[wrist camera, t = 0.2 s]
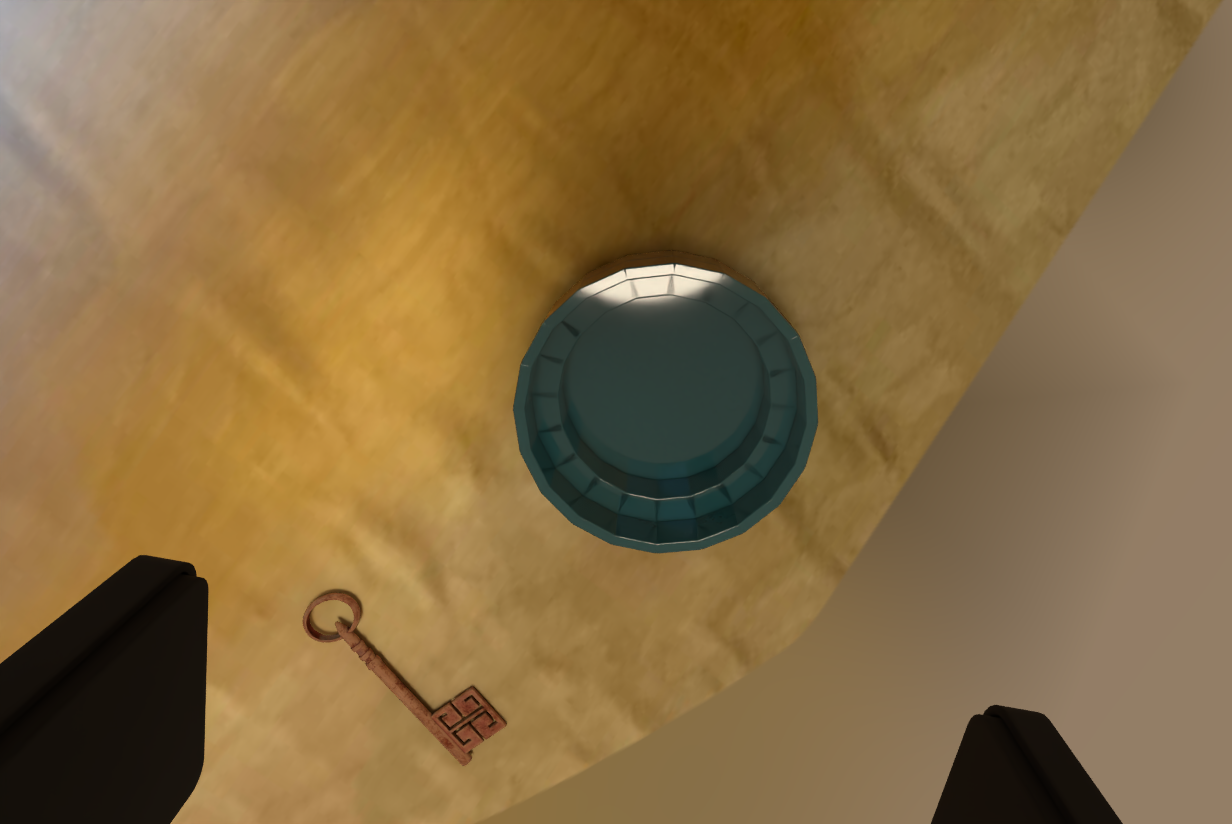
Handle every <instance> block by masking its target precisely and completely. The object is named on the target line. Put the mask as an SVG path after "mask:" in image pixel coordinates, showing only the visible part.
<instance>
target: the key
mask: <svg viewBox="0 0 1232 824" xmlns="http://www.w3.org/2000/svg"><path fill="white" fill-rule="evenodd" d="M328 600H340V601H343V602H345V603H346V604H348V605H349V606H350V607H351V609H352V611H353V613H354V622H353V624H352V625H351V626H350V627H348V626H346V625H344V624H342V623H340V622H338V621H337V622H335V625H336V628H337V630H338V633H339V634H336V635H323V634H321V633H318V632H317V631H315V630H314V629H313V627H312V626H311V624H310V619H309V616H310V612H311V610H312V609H313V608H314V607H315V606H316V605H318V604H319V603H322V602H324V601H328ZM359 620H360V608H359V606H358V604H357V602H356V601H355V600H354V599H353V598H352V597H350V596H348V595H346V594H342V593H330V594H326V595H323V596H321V597H319V598H317V599H316V600H314V601H313V602H312V603H311V604H310V605H309V606H308V608H307V609H306V611H305V613H304V616H303V626H304V629H305V631H306V633H307V634H308V635H309V636H310V637H311V638H313V639H314V640H317V641H320V642H335V641H338V640H341V639H344V640H345V641H346V642H347V643H348V644H349V645H350V647H351V649H352V650H353V651H354V652H356V653H357V654H358V655H359V658H360V659H361V660H362V661H365V662H366V666H367V667H368V669H369V670H372V671H373V672H374V673H375V674H376V675H377V676H378V677H379V678H380V679H381V680H382V681H383V682H384V684H385V685H386V686H387V687H388V688H389V689H390V690H391V691H392V692H393V693H394V694H395V695H396V696H397V697H398V698H399V699H400V700H401V701H402V702H403V704H404V705H405V706H406V707H407V708H408V709H409V710H410V711H411V712H412V713H413V714H414V715H415V716H416V717H417V718H418V719H419V720H420V721H421V722H422V724H423V725H424V726H425V727H426V728H427V729H428V730H429V731H430V732H431V733H432V734H433V735H434V736H435V737H436V738H437V739H438V740H439V741H440V742H441V744H442V745H443V746H444V747H445V748H446V749H447V750H448V751H449V752H450V753H451V754H452V755H453V756H454V757H455V758H456V759H457V760H458V761H459V762H460V764H461V765H462V766H465V765H467V764H468V763H469V762H470V761H471V759H472V756H471V755H470V754H469V753H468V752H469V751H470V750H472V749H473V748H475V747H476V746H478V745H479V744H480V743H482V742H483V741H484V739H483V738H482V737H481V736H480V735H479V733H478V732H477V731H476V730H475V729H474V728H473V727H472V726H471V725H470V724H469V723H468V724H467V725H465V726H464V727H462V728H461V729H460V730H458V731H457V732H456V734H457V735H458V736H459V737H460V738H461V739H462V740H463V741H466V740H467V739H469V738H470V740H469V741H468V742H466V743H465V744H463V743H462V742H461V741H460V740H459V739H458V737H457V736H456V735H455V734H454V733H453V732H454V731H455V730H457V729H458V728H459V727H461V726H462V725H464V724H465V723H467V722H468V721H470V720H471V719H473V718H474V717H476V716H477V715H478V714H480V713H481V712H483V711H484V710H487V711H488V712H489V713H490V715H491V716H492V717H493V718H494V719H495V720H496V721H497V722H495V723H494V724H492V725H491V726H490V725H489V724H491V723H492V722H493V719H492V718H491V717H490V716H489V715H488V714H487V712H484V713H483V714H481V715H480V716H479V717H477V718H476V719H474V720H473V721H472V722H471V724H472V725H473V726H474V727H475V728H476V729H477V730H478V731H479V732H480V734H481V735H482V736H483V737H484V738H485V739H488V738H489V737H491V736H492V735H494V734H495V733H497V732H498V731H500V730H501V729H503V728H504V727H506V725H507V724H506V722H505V721H504V720H503V719H502V718H501V717H500V716H499V715H498V714H497V713H496V712H495V710H494V709H493V708H492V707H491V706H490V705H489V704H488V703H487V702H486V701H485V700H484V698H483V697H482V696H481V695H480V694H479V693H478V692H477V691H476V690H475V689H474V688H473V687H471V688H470V689H468V690H467V691H465V692H464V693H462V694H461V695H460V696H458V697H457V698H455V699H454V700H452V703H453V705H454V706H455V707H456V708H457V709H458V710H459V711H460V712H461V713H462V714H463V715H464V716H467V715H468V714H470V713H471V712H473V711H474V710H476V709H477V708H479V704H478V703H477V702H476V700H475V699H474V698H473V697H470V698H469V699H467V700H466V698H467V697H468V696H470V695H471V694H472V695H473V696H474V697H475V698H476V699H477V700H478V701H479V703H480V704H481V705H482V706H483V707H482V708H480V709H479V710H477V711H476V712H474V713H473V714H471V715H470V716H469V717H467V718H466V719H464V720H463V721H461V722H460V723H458V724H457V725H455V726H454V727H452V728H451V729H449V728H448V726H447V725H446V724H445V723H444V722H443V721H442V720H441V719H440V718H439V716H441V715H442V714H444V713H446V715H444V716H443V717H442V719H443V720H444V721H445V722H446V723H447V724H448V725H449V727H451V726H452V725H454V724H455V723H457V722H458V721H460V720H461V719H462V718H463V716H462V715H461V714H460V713H459V712H458V711H457V710H456V709H455V708H454V707H453V706H452V704H451V703H450V702H449V703H448V704H446V705H445V706H444V707H442V708H441V709H439V710H438V711H436V712H435V713H433V714H431V713H430V712H429V710H428V709H427V708H426V707H425V706H424V705H423V704H422V703H421V702H420V701H419V700H418V699H417V698H416V697H415V696H414V695H413V693H412V692H411V691H410V690H409V689H408V688H407V687H406V686H405V685H404V684H403V683H402V682H401V681H400V680H399V679H398V678H397V676H396V675H395V674H394V673H393V672H392V671H391V670H390V669H389V668H388V667H387V666H386V665H385V664H384V663H383V662H382V661H381V660H382V658H381V657H379V656H378V655H377V654H374V653H373V650H372V649H371V648H370V647H367V646H366V645H365V644H364V643H365V642H364V641H363V640H362V639H360V638H359V637H358V636H357V635H356V634H355V633H354V632H353V630H354V629H355V628H356V626H357V625H358V623H359Z"/></svg>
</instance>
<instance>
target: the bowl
mask: <svg viewBox="0 0 1232 824" xmlns="http://www.w3.org/2000/svg"><path fill="white" fill-rule="evenodd" d="M513 412H514V418H515V424H516V431H517V437H518V443H519V450H520V452H521V455H522V457H523V459H524V461H525V463H526V465H527V467H528V469H529V471H530V473H531V475H532V477H533V478H534V480H535V482H536V484H537V486H538V488H539V490H540V491H541V493H542V494H543V495H544V496H545V497H546V498H547V499H548V500H549V501H550V502H551V503H552V504H553V505H554V506H555V507H556V508H557V509H558V510H559V511H560V512H561V513H562V514H563V515H564V516H565V517H566V518H567V519H568V520H569V521H570V522H571V523H573V525H575V526H577V527H579V528H581V529H583V530H585V531H587V532H589V533H591V534H592V535H594V536H596V537H598V538H600V539H602V540H604V541H606V542H608V543H609V544H613V545H616V546H621V547H626V548H631V549H636V550H641V551H646V552H651V553H668V552H679V551H691V550H701V549H704V548H707V547H709V546H712V545H715V544H717V543H720V542H722V541H725V540H727V539H730V538H733V537H735V536H738V535H740V534H743V533H744V532H746V531H747V530H748V529H750V528H751V527H752V526H754V525H755V524H756V523H757V522H759V521H760V520H761V519H762V518H764V517H765V516H766V515H768V514H769V513H770V512H771V511H773V510H774V509H775V508H777V507H778V506H779V505H780V504H781V502H782V501H783V499H784V498H785V497H786V495H787V494H788V492H789V491H790V489H791V488H792V486H793V485H794V483H795V482H796V481H797V479H798V478H799V476H800V475H801V473H802V472H803V470H804V469H805V467H806V464H807V460H808V457H809V454H810V450H811V447H812V443H813V440H814V437H815V433H816V430H817V426H818V408H817V385H816V376H815V374H814V371H813V369H812V366H811V364H810V361H809V359H808V356H807V354H806V351H805V349H804V346H803V344H802V341H801V339H800V336H799V335H798V333H797V332H796V330H795V329H794V328H793V327H792V326H791V324H790V323H789V322H788V321H787V319H786V318H785V317H784V316H783V315H782V313H781V312H780V311H779V310H778V309H777V308H776V306H775V305H774V304H773V303H772V302H771V301H770V300H769V298H768V297H767V296H766V295H765V294H764V293H763V291H762V290H761V289H760V288H759V287H758V286H757V285H756V283H755V282H753V281H752V280H751V279H749V278H747V277H745V276H744V275H742V274H740V273H739V272H737V271H735V270H733V269H732V268H730V267H728V266H727V265H725V264H723V263H722V262H720V261H718V260H715V259H713V258H708V257H704V256H699V255H694V254H689V253H685V252H680V251H675V250H672V251H671V250H666V251H657V252H648V253H639V254H631V255H628V256H627V255H626V256H624V257H621V258H619V259H617V260H615V261H613V262H610V263H608V264H606V265H604V266H602V267H600V268H597V269H595V270H593V271H591V272H589V273H587V274H585V275H584V276H583V277H582V278H581V279H580V280H579V281H578V282H577V283H576V284H575V285H574V286H573V287H571V288H570V289H569V290H568V291H567V292H566V293H565V294H564V295H563V296H562V297H561V298H560V299H559V300H557V301H556V302H555V304H554V305H553V307H552V309H551V310H550V312H549V313H548V315H547V317H546V318H545V320H544V321H543V323H542V325H541V327H540V329H539V330H538V332H537V334H536V336H535V338H534V340H533V341H532V343H531V345H530V347H529V349H528V351H527V352H526V354H525V356H524V358H523V360H522V362H521V364H520V370H519V376H518V382H517V388H516V393H515V399H514V405H513Z"/></svg>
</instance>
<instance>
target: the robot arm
mask: <svg viewBox="0 0 1232 824" xmlns="http://www.w3.org/2000/svg"><path fill="white" fill-rule="evenodd" d="M207 627H208V584H207V581H206V580H205V579H204V578H201V577H197V576H196V570H195V568H194V566H193V565H192V564H190V563H187V562H182V561H176V560H170V559H165V558H159V557H153V556H148V555H139V556H138V557H136V558H134V559H132V560H131V561H130V562H129V563H127V564H126V565H125V566H124V567H122V568H121V569H120V570H119V571H117V572H116V573H115V574H113V575H112V576H111V577H110V578H108V579H107V580H106V581H105V582H103V583H102V584H101V585H100V586H98V587H97V588H96V589H94V590H93V591H92V592H91V593H89V594H88V595H87V596H86V597H84V598H83V599H82V600H81V601H79V602H78V603H77V604H75V605H74V606H73V607H72V608H70V609H69V610H68V611H67V612H65V613H64V614H63V615H61V616H60V617H59V618H58V619H56V620H55V621H54V622H53V623H51V624H50V625H49V626H48V627H46V628H45V629H44V630H42V631H41V632H40V633H39V634H37V635H36V636H35V637H34V638H32V639H31V640H30V641H29V642H27V643H26V644H25V645H23V646H22V647H21V648H20V649H18V650H17V651H16V652H15V653H13V654H12V655H11V656H10V657H8V658H7V659H6V660H4V661H3V662H2V663H1V664H0V824H170V823H171V822H172V820H173V819H174V817H175V816H176V815H177V813H178V812H179V810H180V809H181V808H182V806H183V805H184V803H185V802H186V801H187V799H188V798H189V796H190V795H191V793H192V792H193V790H194V789H195V787H196V784H197V782H198V780H199V777H200V775H201V772H202V767H203V763H204V742H205V704H206V666H207ZM931 824H1123V823H1122V822H1121V821H1120V819H1119V818H1118V816H1117V815H1116V814H1115V812H1114V811H1113V809H1112V808H1111V807H1110V805H1109V804H1108V802H1107V801H1106V799H1105V798H1104V797H1103V795H1102V794H1101V792H1100V791H1099V789H1098V788H1097V787H1096V785H1095V784H1094V783H1093V781H1092V780H1091V778H1090V777H1089V775H1088V774H1087V773H1086V771H1085V770H1084V768H1083V767H1082V765H1081V764H1080V762H1079V761H1078V760H1077V759H1076V757H1075V755H1074V754H1073V753H1072V752H1071V750H1070V748H1069V747H1068V745H1067V744H1066V743H1065V741H1064V740H1063V738H1062V737H1061V736H1060V734H1059V733H1058V731H1057V730H1056V728H1055V727H1054V726H1053V724H1052V723H1051V721H1050V720H1049V719H1048V718H1047V717H1046V716H1045V715H1044V714H1041V713H1038V712H1034V711H1028V710H1022V709H1016V708H1011V707H1005V706H999V705H993V706H990V707H989V708H988V709H987V710H986V711H985V712H984V714H983V715H980V714H978V715H974V716H973V717H972V718H971V719H970V721H969V723H968V725H967V728H966V731H965V733H964V736H963V739H962V741H961V744H960V747H959V750H958V752H957V755H956V758H955V760H954V763H953V766H952V768H951V771H950V774H949V776H948V779H947V782H946V784H945V787H944V790H943V792H942V795H941V798H940V801H939V803H938V806H937V809H936V811H935V814H934V817H933V819H932V822H931Z"/></svg>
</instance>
